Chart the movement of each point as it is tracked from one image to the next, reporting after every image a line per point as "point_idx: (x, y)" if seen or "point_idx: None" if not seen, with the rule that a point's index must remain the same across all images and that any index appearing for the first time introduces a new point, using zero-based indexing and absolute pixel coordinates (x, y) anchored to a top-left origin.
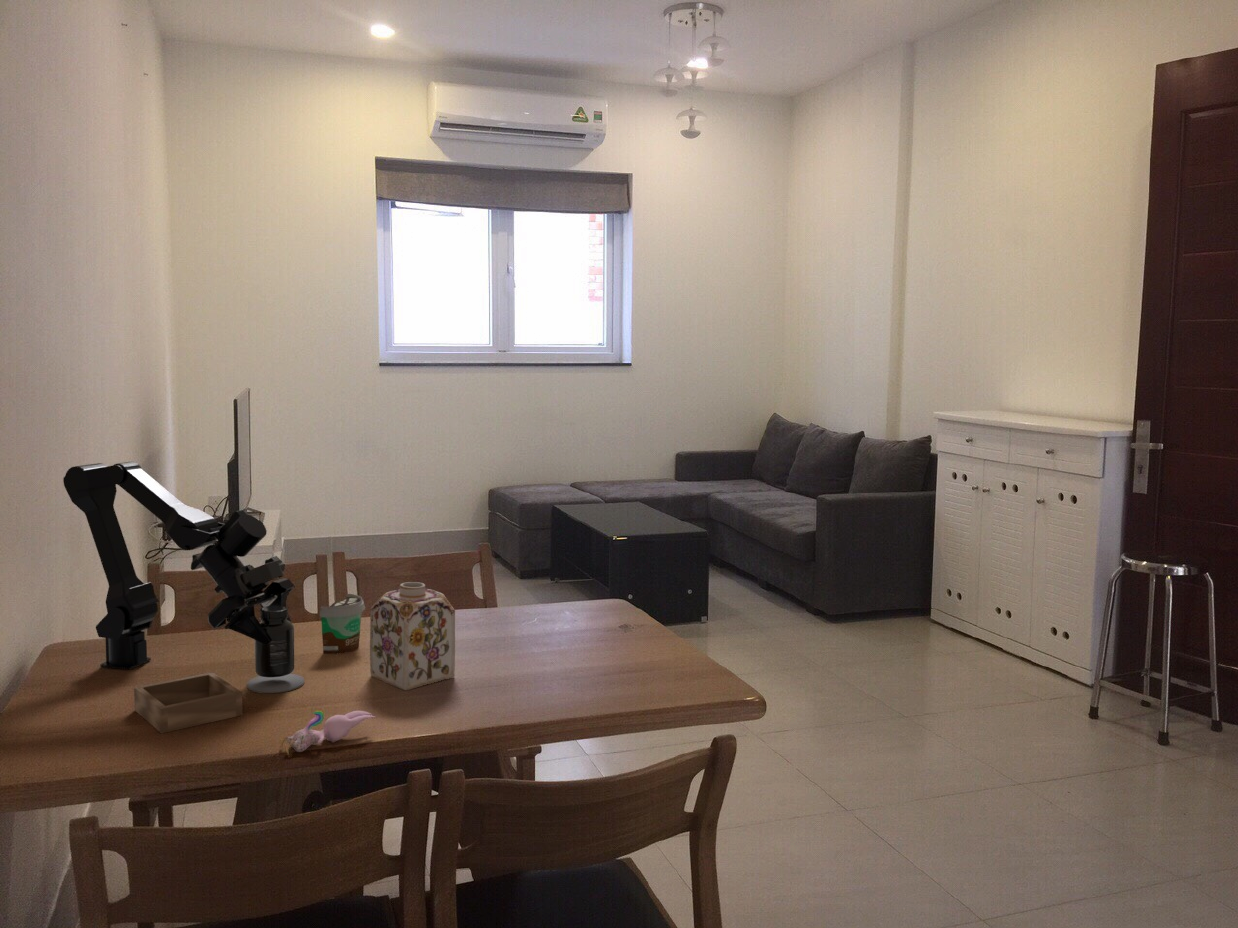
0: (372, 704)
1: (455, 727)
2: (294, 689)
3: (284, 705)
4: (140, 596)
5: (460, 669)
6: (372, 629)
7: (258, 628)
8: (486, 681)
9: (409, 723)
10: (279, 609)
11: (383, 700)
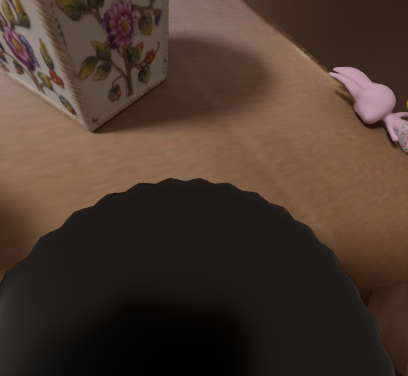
0: (234, 105)
1: (270, 33)
2: None
3: None
4: None
5: None
6: (56, 18)
7: (395, 370)
8: None
9: (279, 64)
10: (233, 245)
11: (214, 96)
